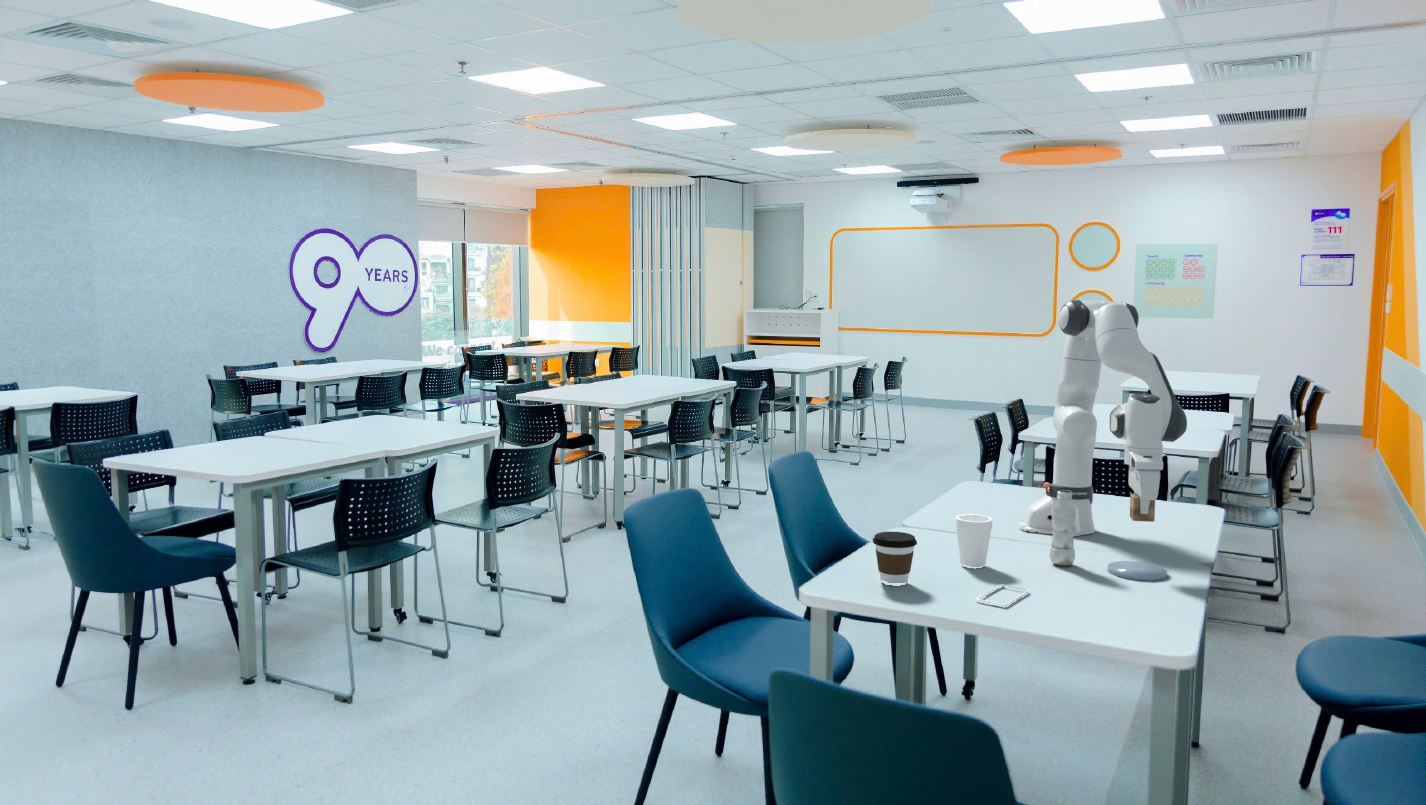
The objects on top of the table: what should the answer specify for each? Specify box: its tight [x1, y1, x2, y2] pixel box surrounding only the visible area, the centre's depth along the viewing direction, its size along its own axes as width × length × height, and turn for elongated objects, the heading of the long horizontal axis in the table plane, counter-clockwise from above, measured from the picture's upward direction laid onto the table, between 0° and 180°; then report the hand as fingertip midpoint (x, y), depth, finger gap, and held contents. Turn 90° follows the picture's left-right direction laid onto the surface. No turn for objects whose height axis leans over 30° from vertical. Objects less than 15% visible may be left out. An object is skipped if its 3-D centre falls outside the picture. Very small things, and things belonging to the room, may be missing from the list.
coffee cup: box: [872, 531, 918, 583], centre depth 232 cm, size 11×11×12 cm
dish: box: [1107, 560, 1168, 582], centre depth 240 cm, size 14×14×1 cm
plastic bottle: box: [1048, 490, 1077, 567], centre depth 247 cm, size 6×7×20 cm
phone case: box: [975, 584, 1030, 606], centre depth 221 cm, size 7×1×15 cm
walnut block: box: [1129, 493, 1156, 523], centre depth 239 cm, size 5×5×6 cm
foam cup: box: [955, 513, 993, 567], centre depth 247 cm, size 10×9×13 cm
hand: (1141, 510), depth 239 cm, fingers closed on walnut block, 5 cm apart
